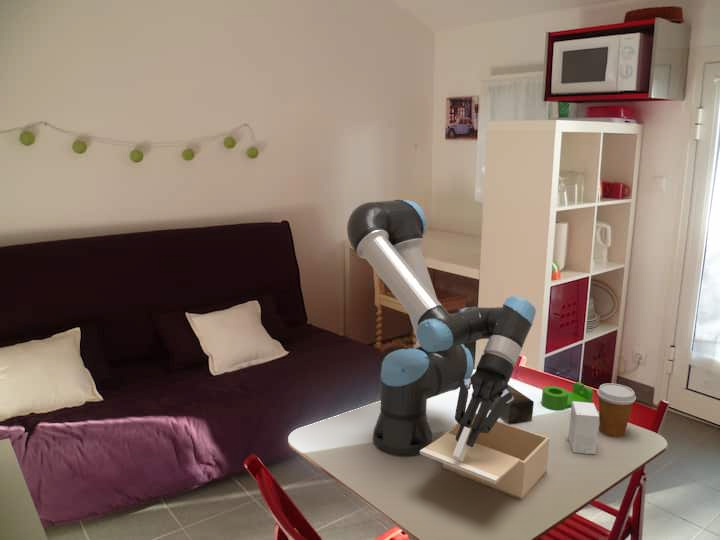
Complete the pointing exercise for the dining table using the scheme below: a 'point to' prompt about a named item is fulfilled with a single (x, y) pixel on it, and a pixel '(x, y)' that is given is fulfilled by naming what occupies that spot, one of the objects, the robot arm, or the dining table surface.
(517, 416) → the dark brown wooden block
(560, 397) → the tape dispenser
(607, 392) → the disposable coffee cup
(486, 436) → the light wood open box
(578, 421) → the small box
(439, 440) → the light wood flat panel
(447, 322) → the robot arm
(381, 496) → the dining table surface
